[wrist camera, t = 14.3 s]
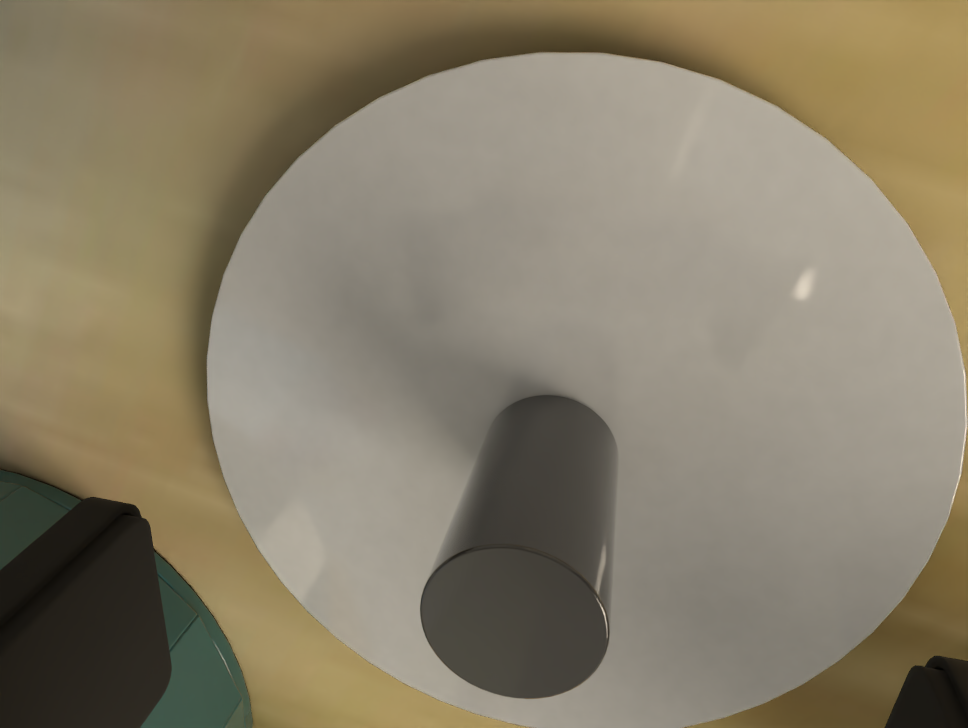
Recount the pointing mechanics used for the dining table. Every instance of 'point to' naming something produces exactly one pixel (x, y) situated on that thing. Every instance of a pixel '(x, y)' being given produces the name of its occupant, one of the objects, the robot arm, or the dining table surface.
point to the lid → (587, 392)
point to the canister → (189, 625)
